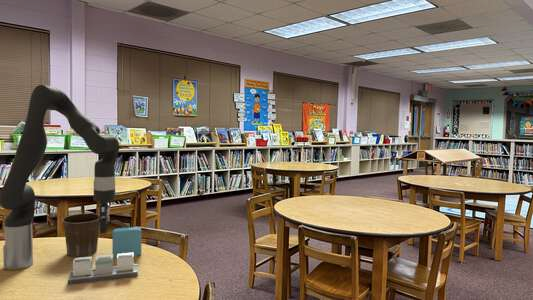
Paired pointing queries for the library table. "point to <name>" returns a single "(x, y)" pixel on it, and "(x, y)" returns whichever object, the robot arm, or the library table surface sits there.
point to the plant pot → (81, 234)
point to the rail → (122, 270)
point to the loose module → (104, 264)
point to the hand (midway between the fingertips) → (104, 229)
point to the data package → (126, 241)
